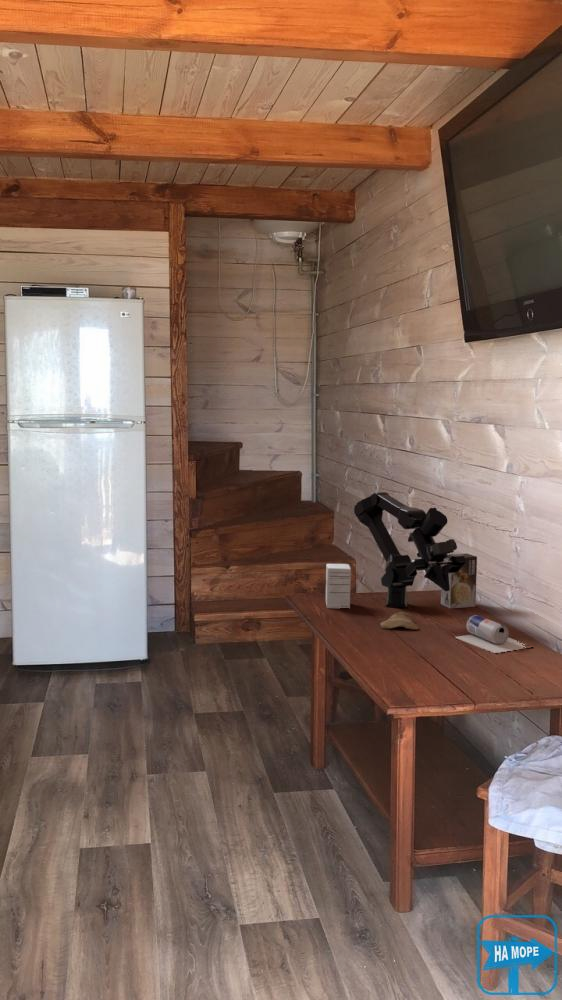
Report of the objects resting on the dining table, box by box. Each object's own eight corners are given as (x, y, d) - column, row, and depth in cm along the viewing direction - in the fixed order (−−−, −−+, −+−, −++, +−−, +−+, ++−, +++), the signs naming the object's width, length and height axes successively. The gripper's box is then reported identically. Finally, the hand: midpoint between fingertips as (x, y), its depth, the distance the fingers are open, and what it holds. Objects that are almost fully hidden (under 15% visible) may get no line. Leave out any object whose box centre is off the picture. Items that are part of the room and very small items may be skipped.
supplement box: (325, 602, 274) (326, 563, 272) (348, 603, 274) (349, 563, 272) (326, 608, 266) (327, 567, 265) (350, 608, 266) (351, 568, 265)
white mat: (455, 637, 236) (455, 636, 236) (492, 632, 242) (492, 631, 242) (495, 653, 222) (495, 652, 222) (533, 647, 228) (533, 646, 228)
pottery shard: (419, 636, 244) (416, 618, 253) (419, 622, 242) (416, 605, 252) (380, 636, 245) (379, 619, 254) (380, 623, 243) (378, 606, 252)
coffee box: (465, 602, 278) (467, 552, 276) (475, 607, 271) (478, 556, 270) (439, 604, 275) (441, 554, 273) (449, 608, 269) (452, 557, 267)
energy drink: (483, 616, 241) (511, 626, 230) (478, 634, 241) (506, 646, 230) (468, 613, 239) (495, 623, 228) (463, 631, 239) (490, 643, 228)
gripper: (412, 531, 247) (434, 578, 239) (464, 528, 256) (487, 572, 248) (395, 553, 255) (416, 599, 247) (446, 549, 264) (468, 593, 256)
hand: (447, 590), depth 249 cm, fingers closed
